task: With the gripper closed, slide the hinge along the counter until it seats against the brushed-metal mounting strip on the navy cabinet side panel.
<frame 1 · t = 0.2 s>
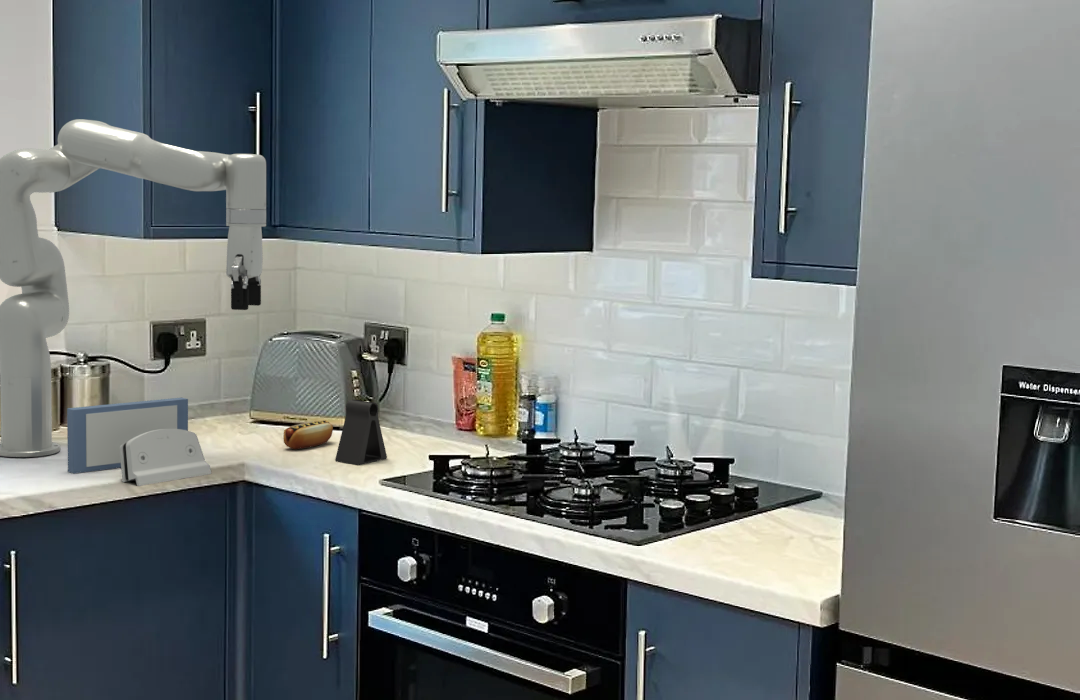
hand: (246, 307, 277), 31 cm above the countertop, tool pointing down, fingers open, 9 cm apart
dark grey a-frame stand: (361, 461, 288), on the countertop
hinge: (163, 478, 267), on the countertop
cabinet side: (129, 465, 276), on the countertop
hot dog: (309, 447, 301), on the countertop
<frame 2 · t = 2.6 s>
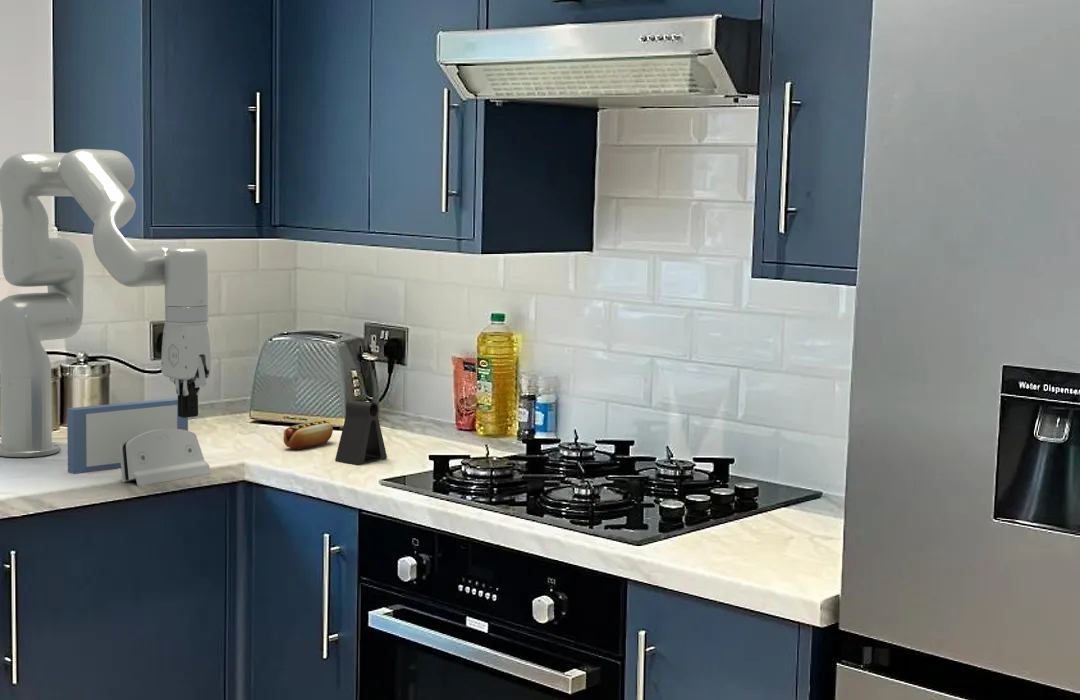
hand: (188, 416, 260), 13 cm above the countertop, tool pointing down, fingers closed
nothing on the countertop moved.
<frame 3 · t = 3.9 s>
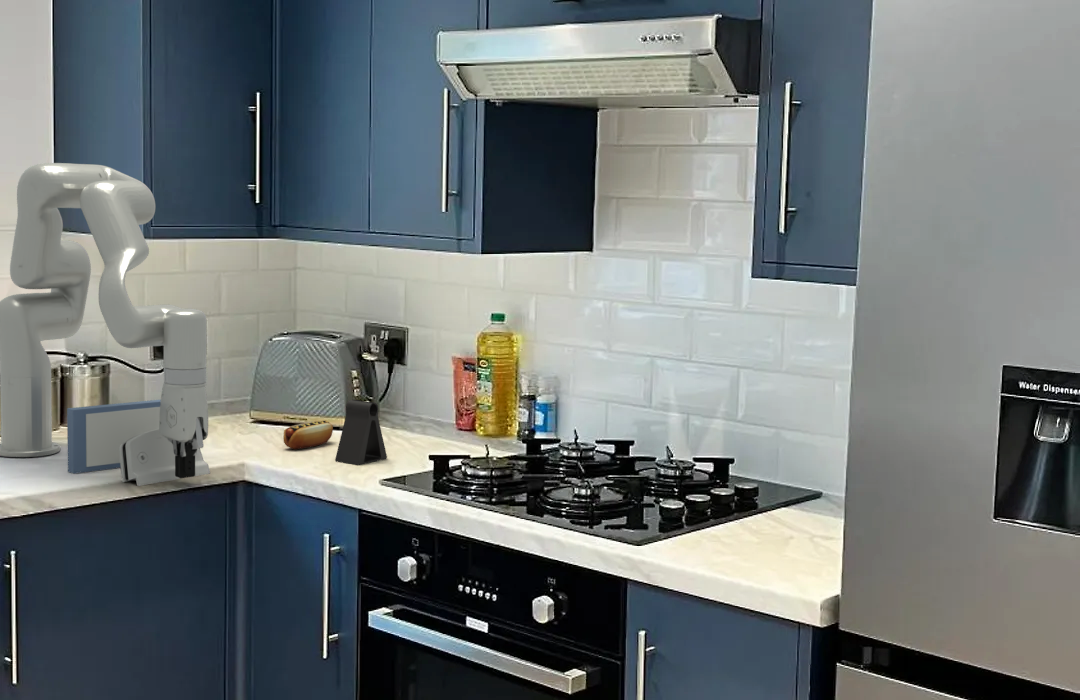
hand: (185, 476, 261), 1 cm above the countertop, tool pointing down, fingers closed
nothing on the countertop moved.
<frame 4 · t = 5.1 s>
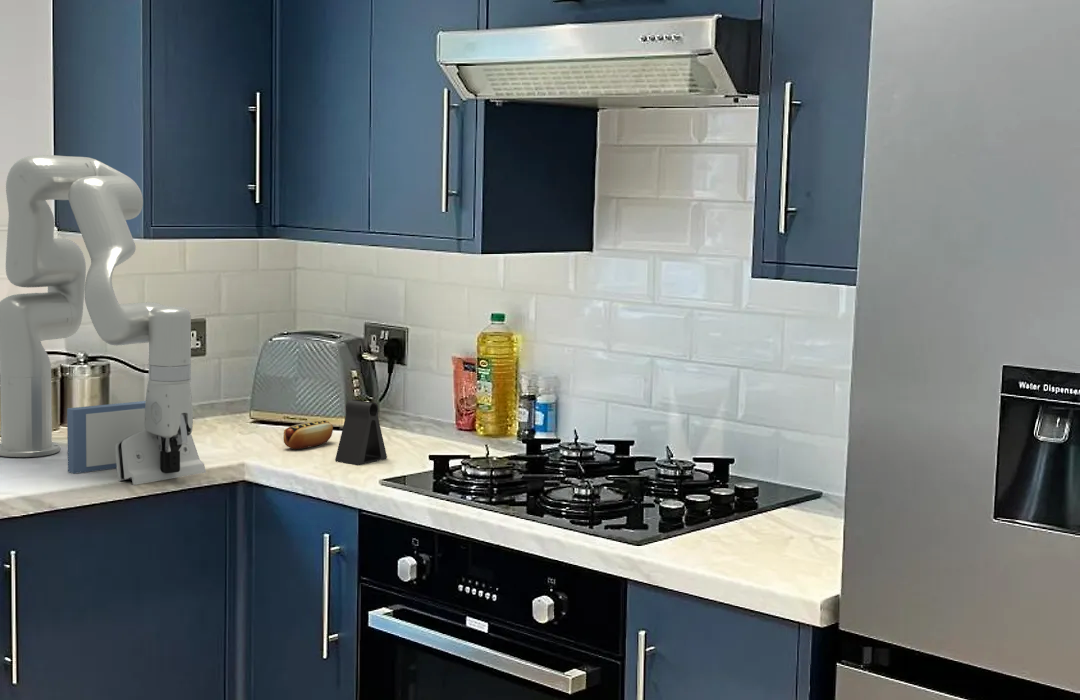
hand: (170, 471, 265), 1 cm above the countertop, tool pointing down, fingers closed
hinge: (158, 477, 268), on the countertop, touching gripper
everything else where it was.
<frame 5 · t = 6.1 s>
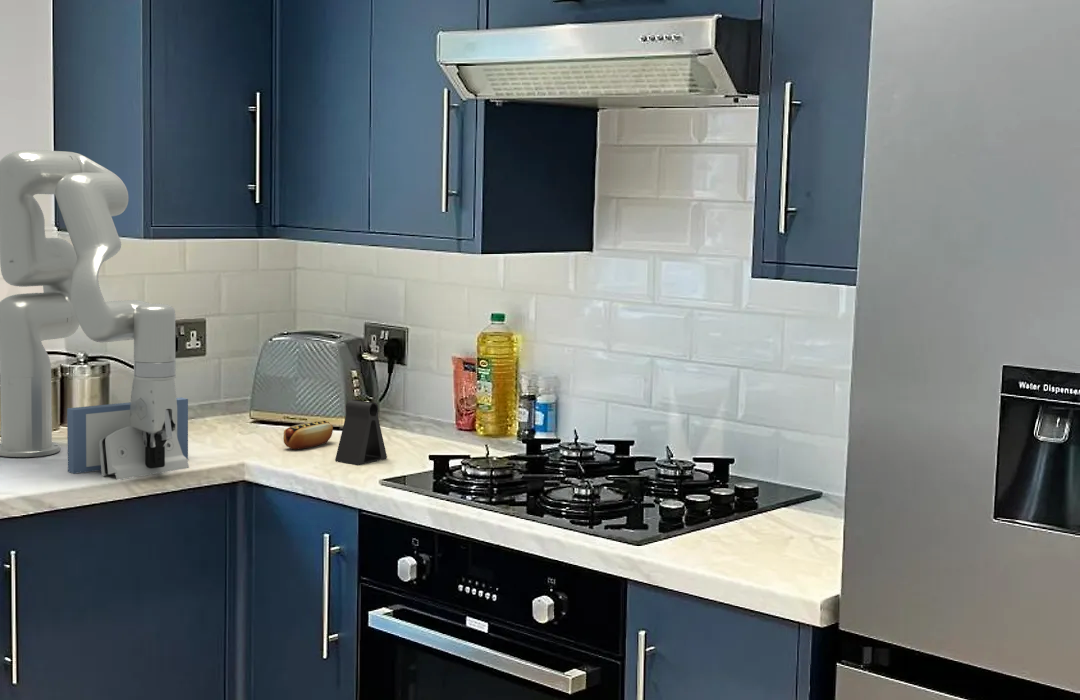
hand: (155, 466, 269), 1 cm above the countertop, tool pointing down, fingers closed
hinge: (142, 472, 272), on the countertop, touching gripper
everything else where it was.
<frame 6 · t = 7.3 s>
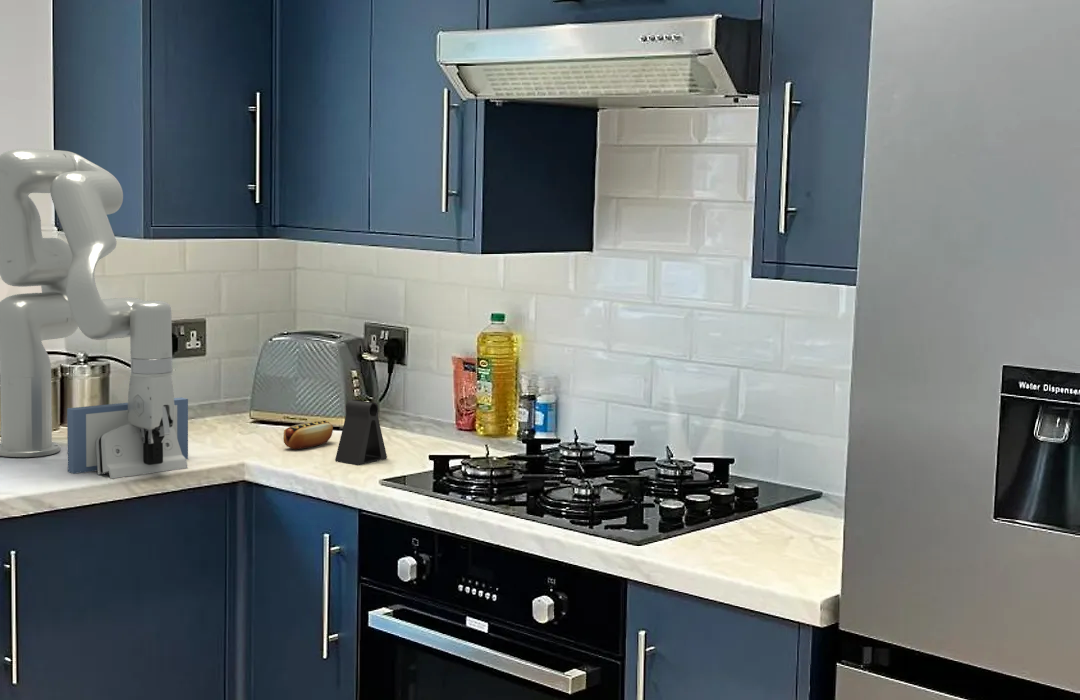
hand: (153, 463, 270), 2 cm above the countertop, tool pointing down, fingers closed
hinge: (140, 471, 272), on the countertop, touching cabinet side, gripper
everything else where it was.
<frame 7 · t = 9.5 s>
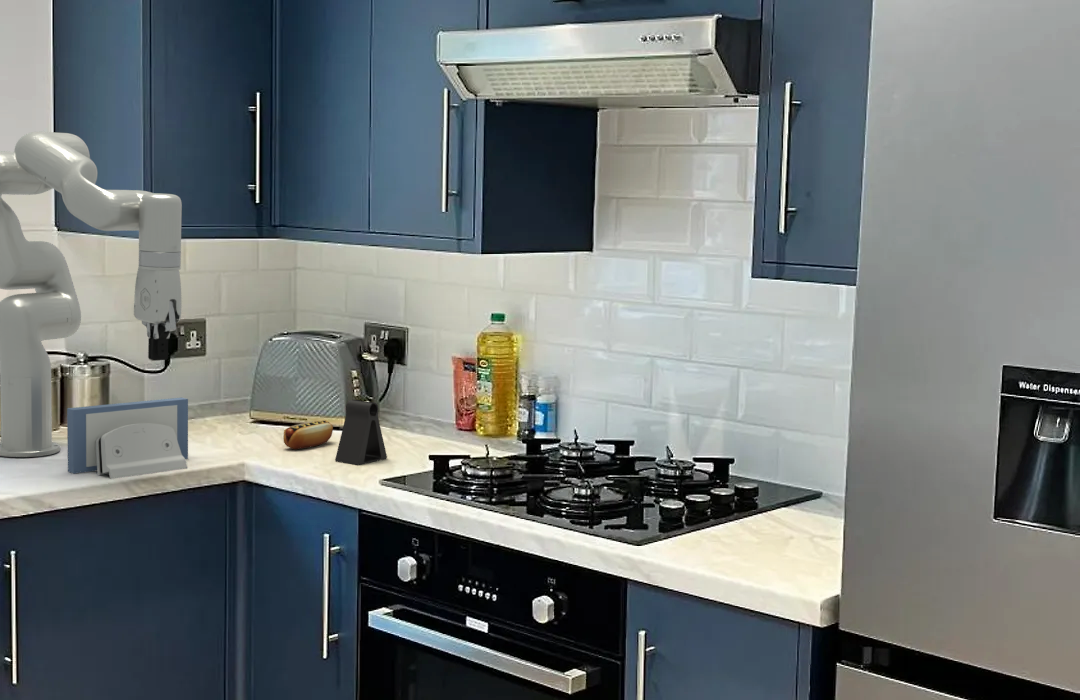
hand: (158, 359, 266), 22 cm above the countertop, tool pointing down, fingers closed
hinge: (139, 472, 272), on the countertop
everything else where it was.
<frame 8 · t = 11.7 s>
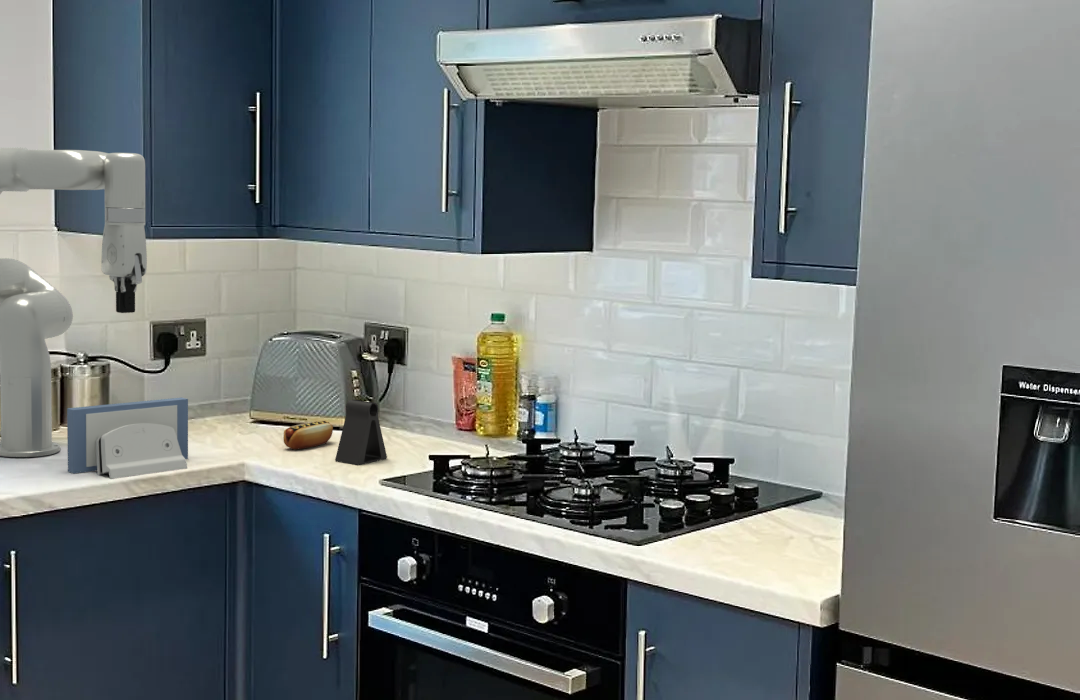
hand: (125, 312, 278), 29 cm above the countertop, tool pointing down, fingers closed
nothing on the countertop moved.
at the end: hinge inside the target area on the countertop beside the cabinet side (1.1 cm from its centre), on the countertop; hinge tilted 1°; hinge moved 7.8 cm from its start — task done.
